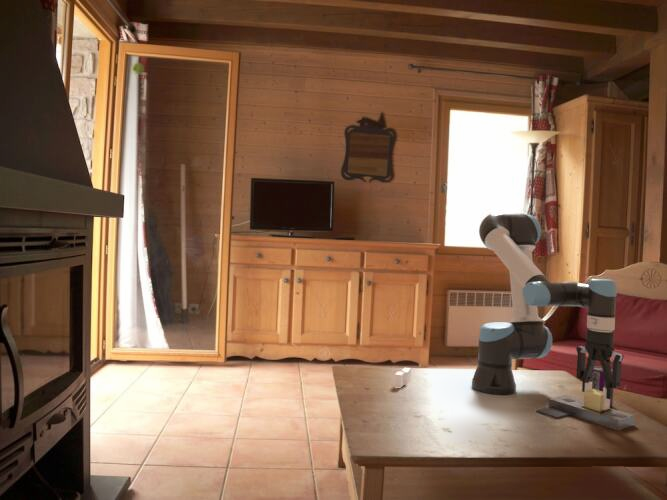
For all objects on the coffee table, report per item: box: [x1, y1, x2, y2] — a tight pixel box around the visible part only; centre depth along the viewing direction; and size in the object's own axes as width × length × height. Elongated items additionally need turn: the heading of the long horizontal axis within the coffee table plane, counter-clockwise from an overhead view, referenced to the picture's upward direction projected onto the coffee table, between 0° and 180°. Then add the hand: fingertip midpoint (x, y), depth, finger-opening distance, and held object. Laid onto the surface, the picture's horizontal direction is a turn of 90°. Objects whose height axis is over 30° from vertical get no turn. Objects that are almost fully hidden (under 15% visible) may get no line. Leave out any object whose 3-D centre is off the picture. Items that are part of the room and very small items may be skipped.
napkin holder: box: [394, 367, 412, 389], centre depth 188 cm, size 15×11×6 cm
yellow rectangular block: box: [583, 389, 609, 413], centre depth 159 cm, size 5×5×8 cm
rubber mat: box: [536, 406, 571, 420], centre depth 162 cm, size 7×7×1 cm
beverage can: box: [589, 365, 614, 407], centre depth 173 cm, size 7×7×12 cm
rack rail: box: [548, 394, 635, 431], centre depth 160 cm, size 22×9×3 cm, turn 34°
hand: (596, 406), depth 159 cm, fingers closed on yellow rectangular block, 5 cm apart
